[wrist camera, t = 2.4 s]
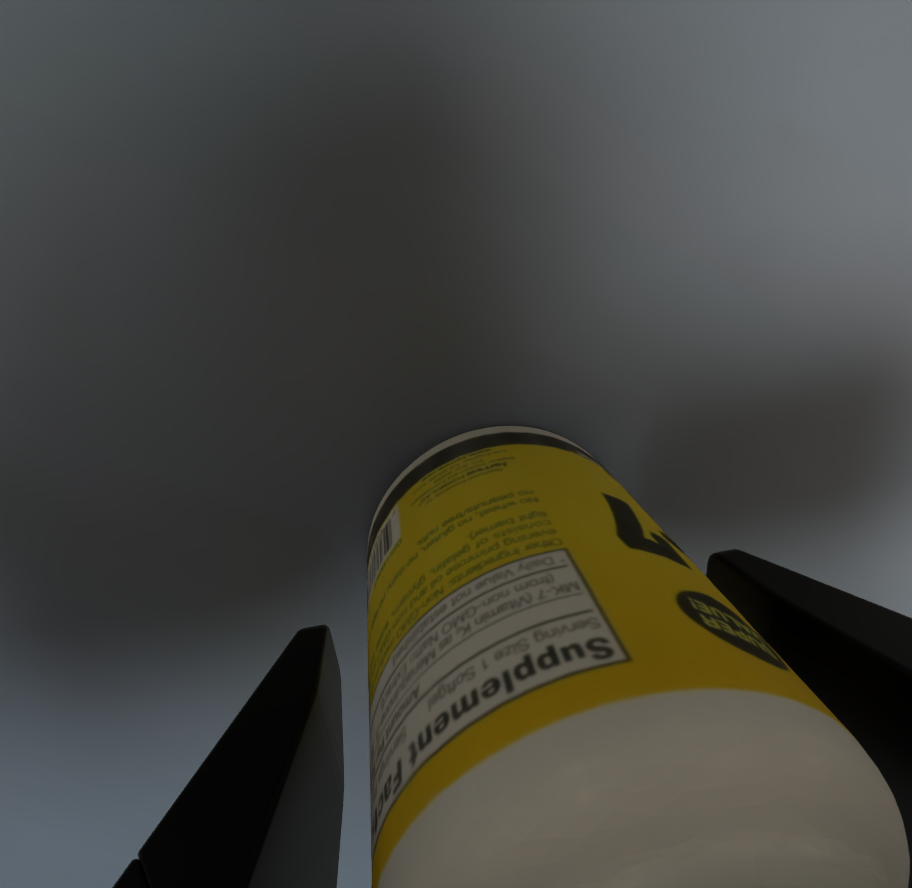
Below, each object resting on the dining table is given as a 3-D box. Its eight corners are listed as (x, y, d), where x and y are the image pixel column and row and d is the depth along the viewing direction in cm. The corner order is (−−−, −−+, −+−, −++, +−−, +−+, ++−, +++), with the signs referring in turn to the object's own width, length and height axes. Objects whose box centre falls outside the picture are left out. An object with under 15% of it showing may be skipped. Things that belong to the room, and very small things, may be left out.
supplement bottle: (653, 559, 11) (1281, 1324, 4) (453, 675, 12) (634, 1588, 4) (548, 363, 9) (1456, 1149, 2) (310, 511, 10) (118, 1722, 2)
